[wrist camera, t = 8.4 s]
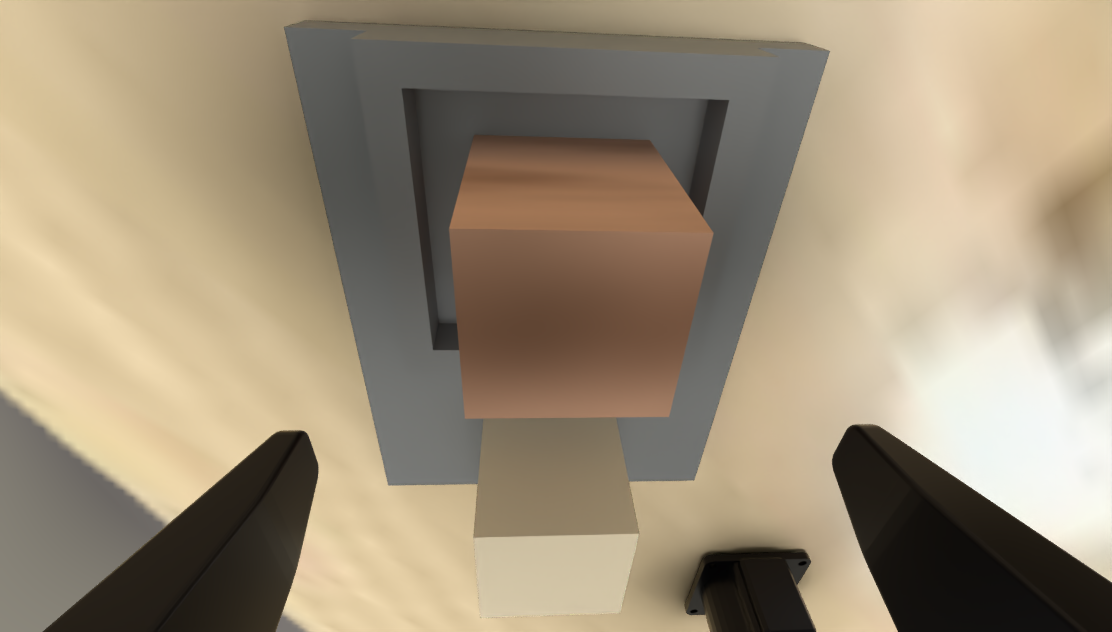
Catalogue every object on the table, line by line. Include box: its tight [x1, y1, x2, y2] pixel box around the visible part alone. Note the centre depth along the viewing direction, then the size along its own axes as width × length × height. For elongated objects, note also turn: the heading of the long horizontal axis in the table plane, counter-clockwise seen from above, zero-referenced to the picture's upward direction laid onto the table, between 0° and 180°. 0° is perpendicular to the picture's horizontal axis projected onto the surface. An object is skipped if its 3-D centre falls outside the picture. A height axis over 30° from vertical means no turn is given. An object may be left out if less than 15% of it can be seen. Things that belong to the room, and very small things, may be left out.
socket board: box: [284, 21, 830, 618], centre depth 16 cm, size 18×14×8 cm
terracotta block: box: [449, 135, 713, 419], centre depth 14 cm, size 5×5×6 cm
